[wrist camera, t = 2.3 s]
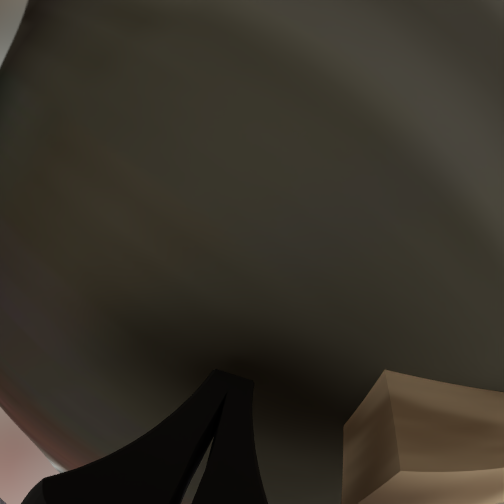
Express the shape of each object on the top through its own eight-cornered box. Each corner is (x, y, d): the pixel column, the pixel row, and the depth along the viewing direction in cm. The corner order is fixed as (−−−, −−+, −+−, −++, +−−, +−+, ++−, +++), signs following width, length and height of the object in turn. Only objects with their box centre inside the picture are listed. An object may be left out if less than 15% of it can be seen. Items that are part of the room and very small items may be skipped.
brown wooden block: (493, 438, 10) (512, 499, 6) (343, 422, 11) (340, 514, 7) (533, 393, 9) (563, 456, 5) (383, 366, 10) (400, 470, 6)
